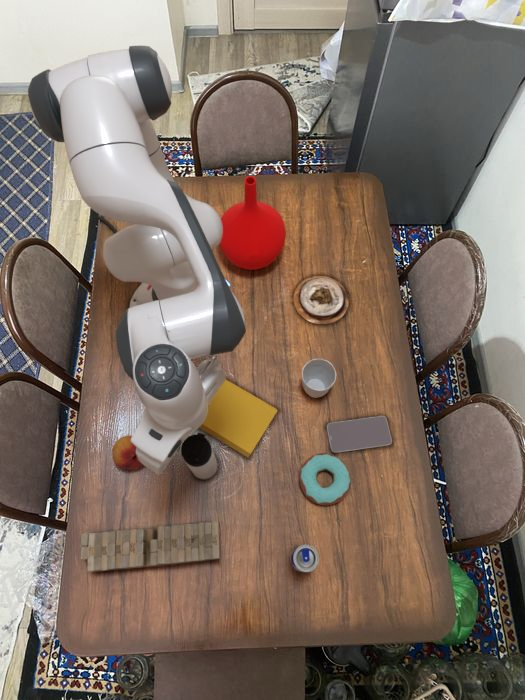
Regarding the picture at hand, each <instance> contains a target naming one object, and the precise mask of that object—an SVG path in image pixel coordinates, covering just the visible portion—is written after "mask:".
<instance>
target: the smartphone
mask: <svg viewBox="0 0 525 700" xmlns="http://www.w3.org/2000/svg"><path fill="white" fill-rule="evenodd" d="M326 432H327V438H328V442H329V447H330V451H331V452H332V453H334V454H339V453H346V452H353V451H359V450H367V449H374V448H381V447H388V446H390V445H391V444H392V442H393V439H392V435H391V431H390V428H389V423H388V420H387V417H386V416H384V415H378V416H371V417H370V416H369V417H363V418H362V417H361V418H356V419H349V420H342V421H335V422H329V423H328V424H327V425H326Z"/></svg>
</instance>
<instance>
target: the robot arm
mask: <svg viewBox="0 0 525 700" xmlns="http://www.w3.org/2000/svg"><path fill="white" fill-rule="evenodd" d="M172 84H173V83H172V78H171V75H170V72H169V70H168V68H167V66H166V64H165V62H164V61H163V59H162V58H161V57H160V56H159V54H158V52H157V51H156V50H155V49H153V48H152V47H151V46H149V45H129V47H128V48H123V49H115V50H114V49H113V50H107V51H102V52H98V53H97V52H96V53H93V54H89V55H87V56H86V57H84V58H81V59H77V60H74V61H72V62H68V63H66V64H63V65H61V66H59V67H56V68H54V69H52V70H51V69H49V68H47V69H46V70H43V71H41V72H39V73H37V74H36V75H35V76H33V77H32V78H31V80H30V83H29V85H28V88H27V96H28V100H29V101H28V102H29V107H30V111H31V113H32V116H33V118H34V120H35V122H36V123H37V125H38V126H39V128H40V129H41V131H42V132H43V134H44V135H45V136H46V137H48V138H50V139H51V140H53V141H55V142H57V143H64V147H65V151H66V155H67V160H68V163H69V167H70V170H71V174H72V177H73V180H74V182H75V185H76V188H77V190H78V193H79V195H80V197H81V199H82V201H83V202H84V203H85V205H87V206H88V208H90V209H91V210H93V212H95V213H97V214H98V216H97V217H96V220H98V221H101V222H102V223H104V224H105V225H106V226H107V227H109V229H111V231H112V232H113V234H112V235H111V236H109V237H107V238H106V239H105V241H104V244H103V248H102V258H103V262H104V264H105V267H106V269H107V270H108V272H109V273H110V274H111V275H112V276H113V277H114V278H116V279H118V280H119V281H121V282H124V283H130V282H131V283H141V284H139V286H138V287H137V288H136V290H135V291H134V293H133V294H132V296H131V299H130V302H129V307H128V308H127V309H126V310H125V311H124V312H123V314H122V316H121V317H120V319H119V321H118V324H117V326H116V328H115V342H116V348H117V352H118V356H119V360H120V363H121V365H122V367H123V370H124V371H125V373H126V375H127V376H128V378H130V379H131V381H133V383H134V387H135V391H136V393H137V396H138V398H139V401H140V402H141V404H142V406H143V407H144V410H143V414H142V416H141V418H140V419H139V422H138V424H137V426H136V428H135V430H134V431H133V434H132V435H131V436H132V437H131V443H132V444H133V445H135V446H136V455H137V457H138V459H139V461H140V462H141V463H142V464H143V465H142V466H144V467H146V468H147V469H148V470H150V471H152V472H153V473H154V474H156V475H161V474H163V472H165V470H166V469H167V467H168V465H169V464H170V462H171V461H172V459H173V458H174V456H176V455H177V454H178V453H179V452H180V451H181V446H182V443H183V442H184V440H185V439H187V438H188V437H189V436H191V435H193V433H194V432H195V431H197V430H198V429H200V428H199V427H200V426H201V425H202V423H203V422H204V421H205V419H206V416H207V413H208V407H209V406H210V402H211V400H212V399H213V398H214V396H215V395H216V393H217V392H218V390H219V389H220V387H221V386H222V384H223V383H224V381H225V379H227V375H226V372H225V371H224V369H222V368H221V367H220V366H219V364H220V358H219V357H218V356H217V355H220V354H226V353H232V352H233V351H234V350H235V349H236V348H237V347H238V346H239V345H240V343H241V341H242V340H243V338H244V336H245V335H246V332H247V328H246V325H247V324H246V317H245V313H244V310H243V307H242V305H241V303H240V301H239V300H238V298H237V297H236V295H235V293H234V292H233V291H232V289H231V288H230V286H231V284H230V282H228V280H227V279H226V278H225V276H224V273H223V272H222V269H221V267H220V265H219V263H218V260H217V259H216V257H215V253H214V251H213V249H214V248H216V247H218V246H220V245H219V244H220V242H221V239H222V235H223V225H222V221H221V216H220V214H219V213H218V212H217V211H216V209H215V208H214V207H213V206H211V205H210V204H208V203H206V202H204V201H201V200H197V199H195V198H193V197H190V196H189V195H188V194H186V193H185V192H184V190H183V189H182V188H181V186H180V185H179V184H178V183H177V182H176V180H174V178H173V176H172V173H171V171H170V169H169V167H168V164H167V161H166V159H165V155H164V153H163V149H162V146H161V143H160V140H159V138H158V135H157V132H156V130H155V128H154V125H153V123H152V121H156V120H157V119H159V118H161V117H162V116H164V115H165V114H167V112H168V110H169V109H170V108H171V106H172V97H173V95H172V94H173V86H172ZM99 215H100V216H99ZM106 218H107V219H109V220H113V221H116V222H120V223H126V224H130V225H128V226H125V227H123V228H122V229H120V230H119V231H118V230H117V229H116V228H115V226H114V225H112V224H111V222H109V221H108V220H107V219H106ZM206 356H212V357H211V359H205V360H202V361H201V362H200V363H199V364H198V366H197V367H196V365H195V364H194V361H192V360H195V359H199V358H202V357H206Z"/></svg>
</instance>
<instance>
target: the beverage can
mask: <svg viewBox="0 0 525 700" xmlns="http://www.w3.org/2000/svg"><path fill="white" fill-rule="evenodd" d="M319 561H320V557H319V553H318V551H317V549H316V548H315V547H314V546H313V545H310V544H301V545H299V546H297V547H296V548H294V549H293V550H292V551H291V553H290V555H289V563H290V566H291V567H292V569H293V570H295V571H296V572H299V573H310V572H312V571H314V570H315V569H316V568H317V567H318V565H319Z"/></svg>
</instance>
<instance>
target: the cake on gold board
mask: <svg viewBox="0 0 525 700" xmlns="http://www.w3.org/2000/svg"><path fill="white" fill-rule="evenodd" d="M293 306H294V308H295V310H296V312H297V313H298V314H299V315H300V316H301V317H302V318H303V319H304V320H305V321H308V322H310V323H311V324H316V325H329V324H332V323H335V322H337V321H338V320H340V319H341V318H342V317H343V316H344V315H345V314H346V312H347V310H348V307H349V295H348V293H347V290H346V289H345V287H344V286H343V284H341V283H340V282H339V281H337V280H336V279H334V278H332V277H330V276H326V275H313V276H310V277H307V278H305V279H304V280H302V281H301V282H300V283H299V284H298V285H297V286H296V287H295V290H294V292H293Z"/></svg>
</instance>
